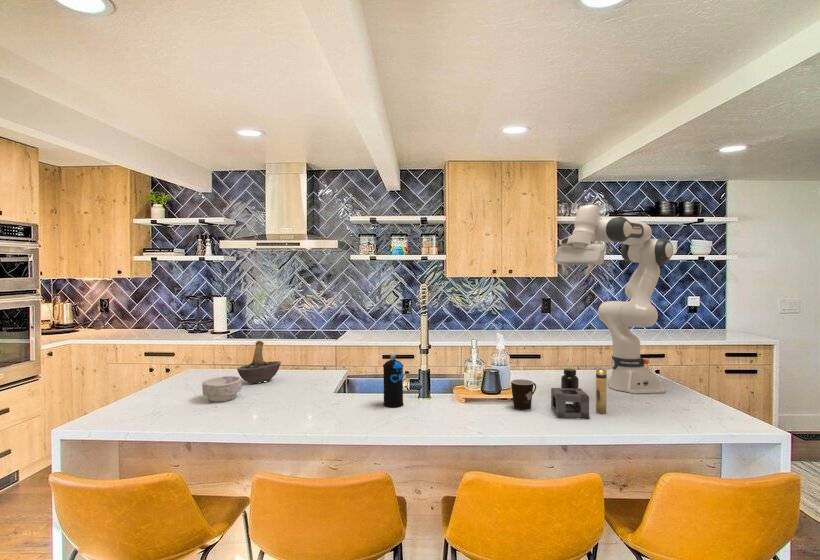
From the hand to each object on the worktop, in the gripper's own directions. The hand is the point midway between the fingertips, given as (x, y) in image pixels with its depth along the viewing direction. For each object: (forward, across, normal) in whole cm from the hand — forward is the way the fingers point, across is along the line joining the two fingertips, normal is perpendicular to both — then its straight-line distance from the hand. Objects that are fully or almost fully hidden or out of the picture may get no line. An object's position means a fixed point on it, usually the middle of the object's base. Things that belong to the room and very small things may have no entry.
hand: (575, 274), depth 178 cm
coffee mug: (+56, +8, +3) cm, 56 cm away
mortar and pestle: (+79, +109, +71) cm, 152 cm away
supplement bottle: (+48, +5, -20) cm, 52 cm away
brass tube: (+50, -13, -14) cm, 53 cm away
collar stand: (+53, -7, -4) cm, 53 cm away
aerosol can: (+68, +41, +40) cm, 89 cm away
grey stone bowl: (+86, +91, +90) cm, 155 cm away
